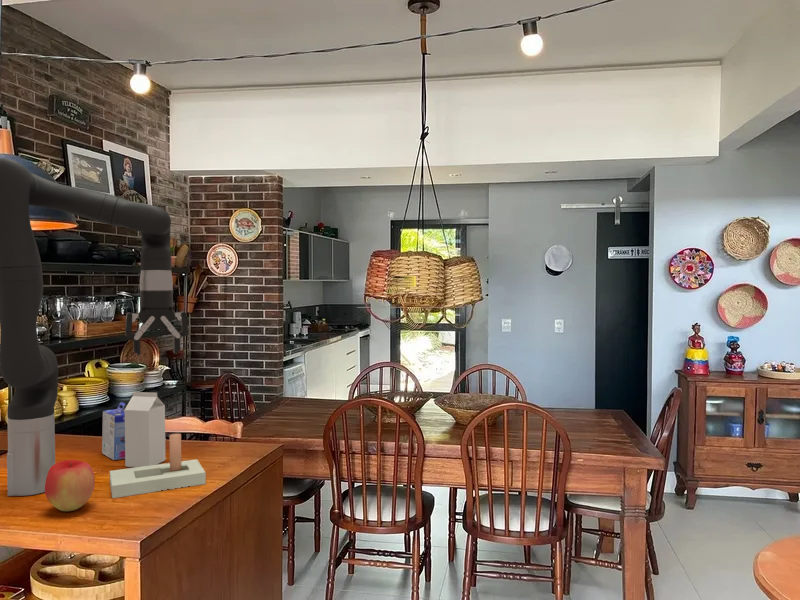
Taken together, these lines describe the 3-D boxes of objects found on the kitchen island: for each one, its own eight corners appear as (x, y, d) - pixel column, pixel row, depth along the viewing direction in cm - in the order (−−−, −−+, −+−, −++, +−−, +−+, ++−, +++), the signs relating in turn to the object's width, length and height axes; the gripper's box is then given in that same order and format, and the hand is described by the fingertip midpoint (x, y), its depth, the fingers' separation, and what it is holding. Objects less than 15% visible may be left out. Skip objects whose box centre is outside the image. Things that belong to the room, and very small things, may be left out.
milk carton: (149, 468, 154) (148, 395, 153) (125, 467, 155) (124, 394, 155) (165, 460, 161) (164, 390, 160) (142, 459, 162) (141, 389, 162)
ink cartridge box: (135, 457, 164) (134, 404, 164) (114, 461, 160) (113, 407, 160) (122, 450, 171) (121, 399, 171) (101, 454, 168) (100, 402, 167)
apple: (33, 516, 122) (32, 468, 122) (65, 500, 132) (65, 455, 131) (76, 519, 121) (75, 470, 121) (106, 502, 130) (105, 456, 130)
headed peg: (166, 484, 142) (166, 438, 141) (164, 479, 146) (163, 434, 145) (187, 481, 144) (186, 435, 143) (184, 476, 148) (183, 431, 148)
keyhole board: (112, 498, 133) (112, 485, 133) (110, 482, 143) (109, 470, 143) (205, 484, 142) (205, 472, 142) (196, 470, 153) (196, 459, 153)
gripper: (125, 289, 141) (126, 357, 142) (189, 288, 148) (189, 354, 149) (123, 288, 148) (124, 354, 149) (184, 288, 155) (185, 351, 155)
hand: (157, 354), depth 149 cm, fingers open, 8 cm apart
